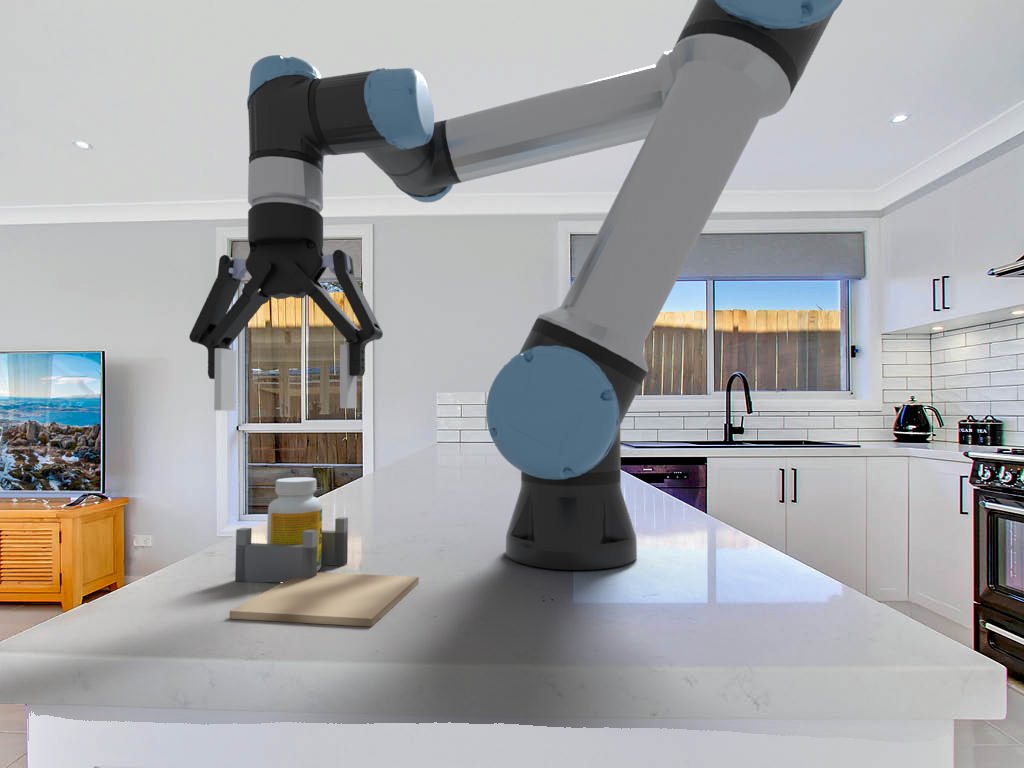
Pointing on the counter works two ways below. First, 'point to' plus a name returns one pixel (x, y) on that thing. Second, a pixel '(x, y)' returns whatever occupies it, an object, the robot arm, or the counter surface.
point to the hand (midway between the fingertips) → (286, 409)
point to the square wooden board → (328, 599)
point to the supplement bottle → (295, 513)
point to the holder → (289, 555)
